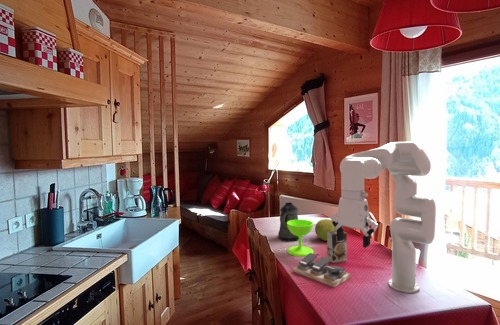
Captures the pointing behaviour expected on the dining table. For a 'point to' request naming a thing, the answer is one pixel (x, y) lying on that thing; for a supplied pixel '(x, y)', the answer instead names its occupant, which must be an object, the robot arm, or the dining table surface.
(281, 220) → the beer stein
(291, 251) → the wineglass
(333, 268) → the rocker near
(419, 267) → the dining table surface
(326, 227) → the fruit
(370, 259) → the dining table surface
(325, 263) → the rocker middle
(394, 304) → the dining table surface
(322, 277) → the switch board
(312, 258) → the plate
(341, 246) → the coffee box
